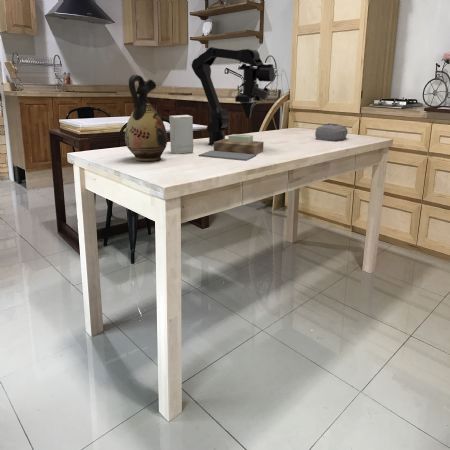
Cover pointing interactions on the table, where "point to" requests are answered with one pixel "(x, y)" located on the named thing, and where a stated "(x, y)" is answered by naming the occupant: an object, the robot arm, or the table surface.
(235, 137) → the sage tile
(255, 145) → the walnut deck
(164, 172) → the table surface
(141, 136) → the ceramic jug
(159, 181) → the table surface
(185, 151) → the skincare box
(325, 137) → the soft grey pack
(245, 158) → the charcoal mat
